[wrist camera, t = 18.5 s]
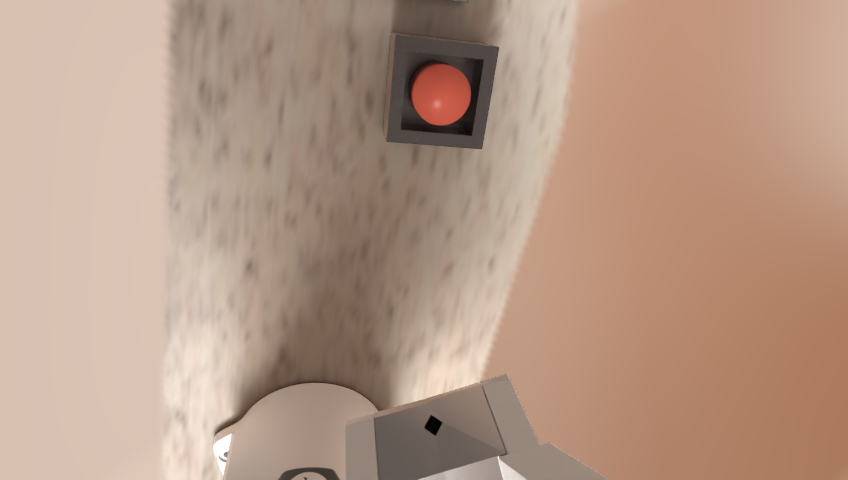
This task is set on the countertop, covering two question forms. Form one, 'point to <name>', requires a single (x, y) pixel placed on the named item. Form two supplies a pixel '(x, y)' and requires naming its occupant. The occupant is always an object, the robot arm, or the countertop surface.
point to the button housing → (463, 56)
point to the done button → (439, 93)
